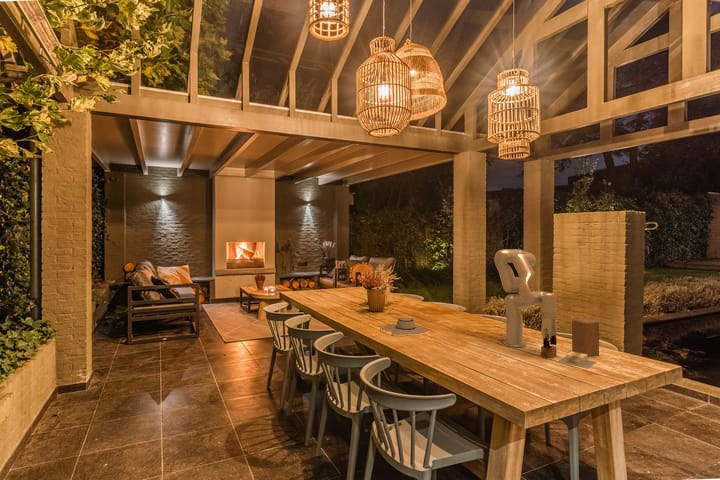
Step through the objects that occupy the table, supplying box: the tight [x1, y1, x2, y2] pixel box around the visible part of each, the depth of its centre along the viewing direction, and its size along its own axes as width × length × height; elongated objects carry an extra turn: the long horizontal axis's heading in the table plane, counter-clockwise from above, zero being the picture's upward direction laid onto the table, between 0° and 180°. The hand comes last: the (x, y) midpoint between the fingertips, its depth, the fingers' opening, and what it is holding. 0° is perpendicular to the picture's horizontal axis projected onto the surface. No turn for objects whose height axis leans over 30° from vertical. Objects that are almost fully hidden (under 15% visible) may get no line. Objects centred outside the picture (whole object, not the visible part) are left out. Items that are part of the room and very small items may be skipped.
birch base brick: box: [565, 350, 589, 365], centre depth 210 cm, size 8×8×4 cm
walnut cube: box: [540, 345, 557, 359], centre depth 221 cm, size 6×6×6 cm
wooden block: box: [571, 317, 600, 358], centre depth 225 cm, size 10×10×20 cm
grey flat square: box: [557, 356, 597, 370], centre depth 210 cm, size 15×15×1 cm
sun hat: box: [381, 317, 428, 335], centre depth 288 cm, size 36×36×9 cm
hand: (550, 346), depth 220 cm, fingers open, 9 cm apart
